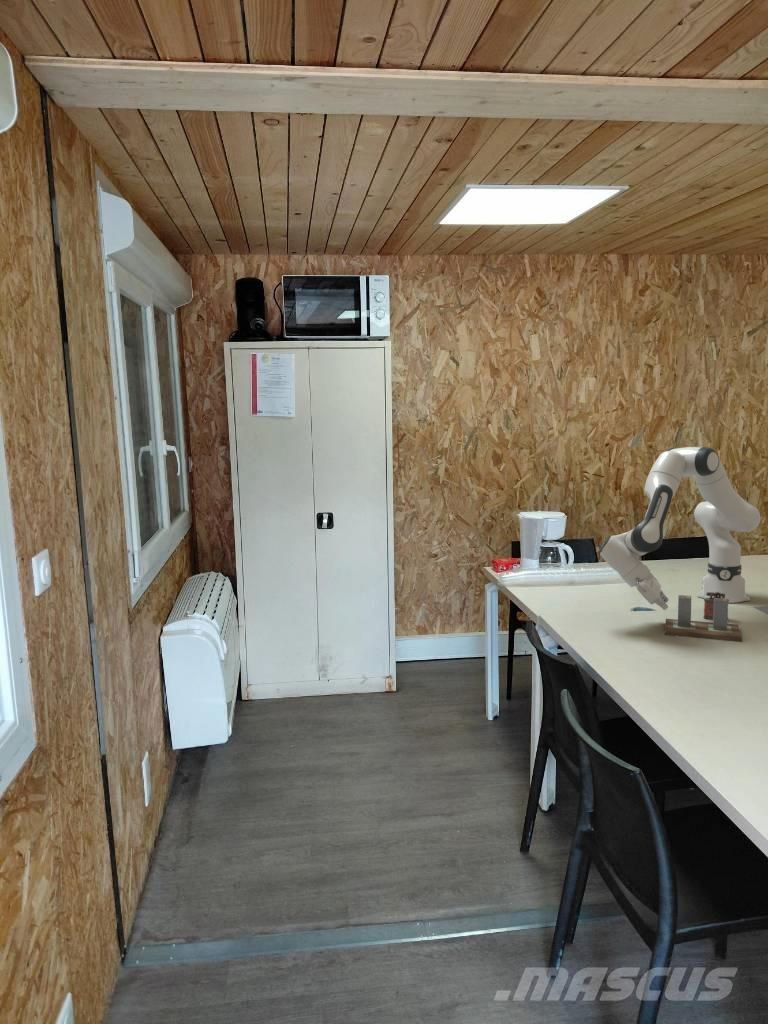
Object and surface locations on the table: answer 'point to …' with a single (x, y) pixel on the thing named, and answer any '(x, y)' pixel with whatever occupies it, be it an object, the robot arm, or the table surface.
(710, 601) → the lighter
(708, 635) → the pallet
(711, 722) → the table surface
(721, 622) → the block
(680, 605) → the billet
